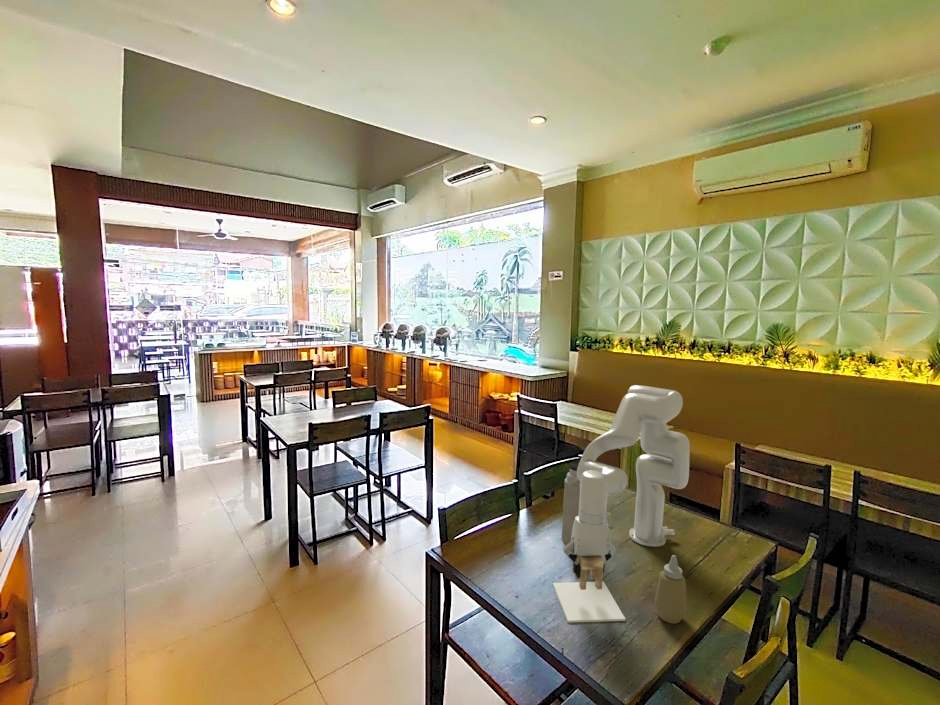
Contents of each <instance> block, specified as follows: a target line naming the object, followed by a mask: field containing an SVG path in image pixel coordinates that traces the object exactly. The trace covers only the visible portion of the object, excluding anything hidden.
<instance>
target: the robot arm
mask: <svg viewBox="0 0 940 705" xmlns="http://www.w3.org/2000/svg"><path fill="white" fill-rule="evenodd" d="M683 401H684V400H683V396H682V395H681V393H680V392H679V391H677V390H674V389H668V388H667V389H666V388H662V387H661V388H660V387H655V386H649V385H642V384H641V385H639V384H634V385H631V386H630V387H629V388H628V390H627V394H625V395H624V396H623V397H622V399H621V402H620V403H619V406H618V409H617V410H616V413H615V416H614V417H613V421H612V423H611V426H610V428H609V430H607V431H606V432H604V433H603V434H601V435H599V436H598V437H596V438H594V439H593V440H592V441H590V443H589V444H588V445H587V446H586V448H585V449H584V450H583V454H582V456H581V458H580V461H579V463H578V464H579V465H578V469H577V478H578V480H579V481H580V498H579V514H578V516H576V517H575V520H574V524H573V528H572V534H571V541H570V542H569V543H568V544H567V543H566V545H565V546H564V547H563V548H562V551H563V553H564V554H565V556H567V557H568V558H569V559H570V560H571V561H572V562H573V563H572V564H573V565H572V571H573V574H574V575H575V574H576V576H577V578H579V577H580V569H581V566H580V564H579V562H580V560H581V558H582V556H600V557H602V559H603V561H604V565H603V574H604V573H605V568H606V565H607V562H608V561H609V560H610V559H612V556H614V555H615V554H616V553H617V552H618V550H617V549H616V547H615V546H614V545H613V544H612V542H610V529H609V521H608V519H607V517H611V516H612V512H611V510H607V507H608V497H610V496H615V495H618V494H620V493H622V492H624V490H626V488H627V485H628V482H629V481H628V475H627V473H626V471H624V470H623V469H621V468H619V467H616V466H612V465H608V464H607V463H603V462H599V461H597V459H598V458H599V457H600V456H601V455H602V454H604V453H605V452H608V451H613V450H616V449H623V448H629V447H632V446H634V445H635V444H636V443H637V442H638V439H640V440H639V442H640V448H641V450H642V451H643V452H644V453H645V454H644V453H643V454H641V455H639V456H638V457H637V459H636V461H635V474H636V497H635V510H634V522H633V524H634V525H633V527H632V528H630V529H629V530H628V531H629V532H628V534H629V537H630V539H631V540H632V541H634V542H635V543H637V544H639V545H642V546H645V547H651V548H659V547H662V546H664V545H665V544H666V541H667V539H666V538H667V535H668V536H674V535H675V534H676V532H675V529H673V528H669V527H668V526H663V522H664V509H665V500H666V499H665V497H666V495H665V490H664V488H663V487H662V486H665V487H668V488H672V489H676V490H683V489H684V488H686V486H687V485H688V483H689V479H690V478H689V477H690V450H691V449H690V448H691V447H690V446H691V445H690V440H689V438H688V436H687V434H684V433H682V432H678V431H673V430H670V429H668V428H667V423H668V422H670V421H672V420H673V419H674V418H676V417H677V416H678V415H679V414H680V413H681V410H682V409H683V404H684V402H683ZM572 549H573V550H574V552H572Z"/></svg>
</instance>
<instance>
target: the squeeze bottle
mask: <svg viewBox="0 0 940 705" xmlns="http://www.w3.org/2000/svg"><path fill="white" fill-rule="evenodd" d="M686 584H687V583H686V579H685V577H684V576H683V569H682V568H681V567H680V566H679V563H678V557H677V555H675V554H672V555H671V557H670V561H669V562H668V563H667V564H665V565H664V566H663V570H662V571H661V572H659V578H658V581H657V587H656V591H655V597H654V601H653V602H654V605H655V608H656V612H657V615H658V617H659V618H660V619H661V620H662V621H664V622H666V623H669V624H673V625H675V624H679V623H680V622H681V621H682V619H683V617H684V615H685V614H686V612H687V591H686V590H687V589H686V588H687V586H686Z"/></svg>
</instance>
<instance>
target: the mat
mask: <svg viewBox="0 0 940 705" xmlns="http://www.w3.org/2000/svg"><path fill="white" fill-rule="evenodd" d="M595 582H596V581H586V590H581V589H580V587H579V585H580V581H579V582H578V581H575V582H573V581H570V582H552V586H553V589H554V591H555V593H556V596H557V599H558V601H559V604H560V606H561V609H562V612H563V615H564V616H565V619H566V622H567V623H570V624H572V623H597V622H602V623H604V622H626V617H625V615H624V614H623V613H622V610H621V609H620V607H619V606H618V604H617V602H616V600H615V599H614V597H613V595H612V593H611V592H610V589H609V588H608V587H607V585H606V583H605V582H604V581H602V589H597V588H596V587H595Z"/></svg>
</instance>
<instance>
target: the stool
mask: <svg viewBox="0 0 940 705" xmlns="http://www.w3.org/2000/svg"><path fill="white" fill-rule="evenodd" d="M579 564H580V566H581V569H580V577H579V578H577V576H576V574H575V573H574V578H575V580H579V582H580V585H579V587H580V589H581V590H586V582H587V580H588V579H587V575H588V570H589V577H590V580H595V581H594V582H595V587H596V588H597V589H602V582H603V578H604V573H603V565H604V561H603V559H602V557H600V556H582V558H581V560H580V562H579Z"/></svg>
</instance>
